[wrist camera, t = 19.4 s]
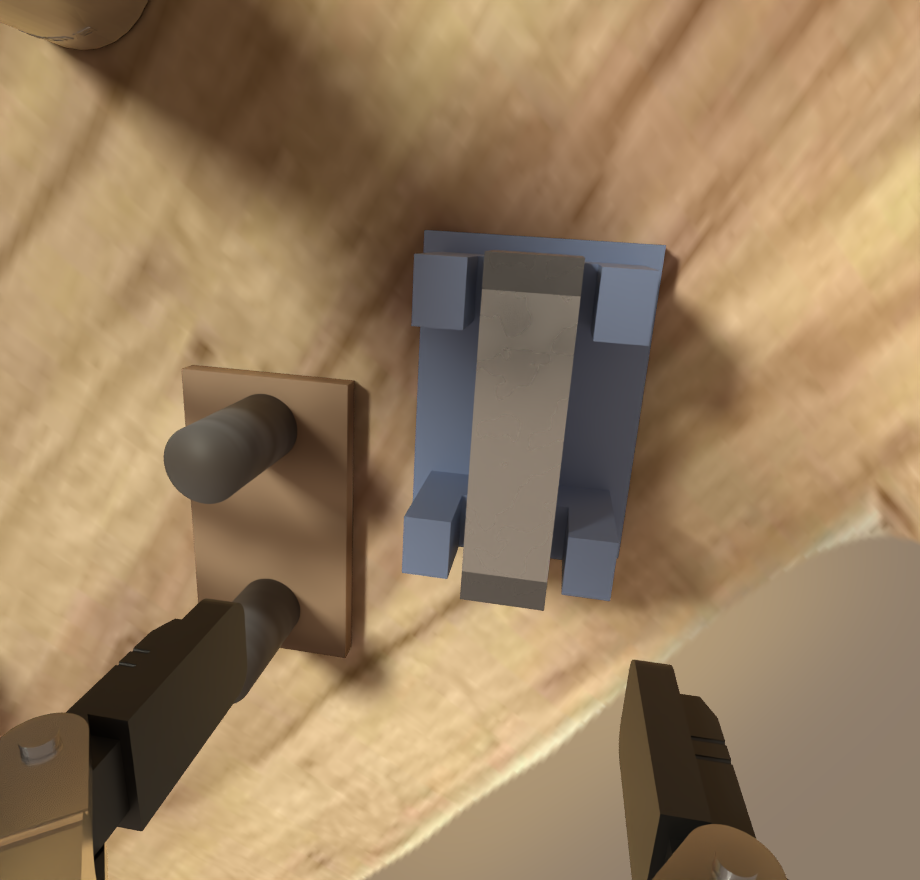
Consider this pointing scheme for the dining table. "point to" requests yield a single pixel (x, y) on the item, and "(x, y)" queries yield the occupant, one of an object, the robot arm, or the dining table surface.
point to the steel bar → (519, 423)
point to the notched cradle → (589, 407)
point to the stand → (271, 504)
